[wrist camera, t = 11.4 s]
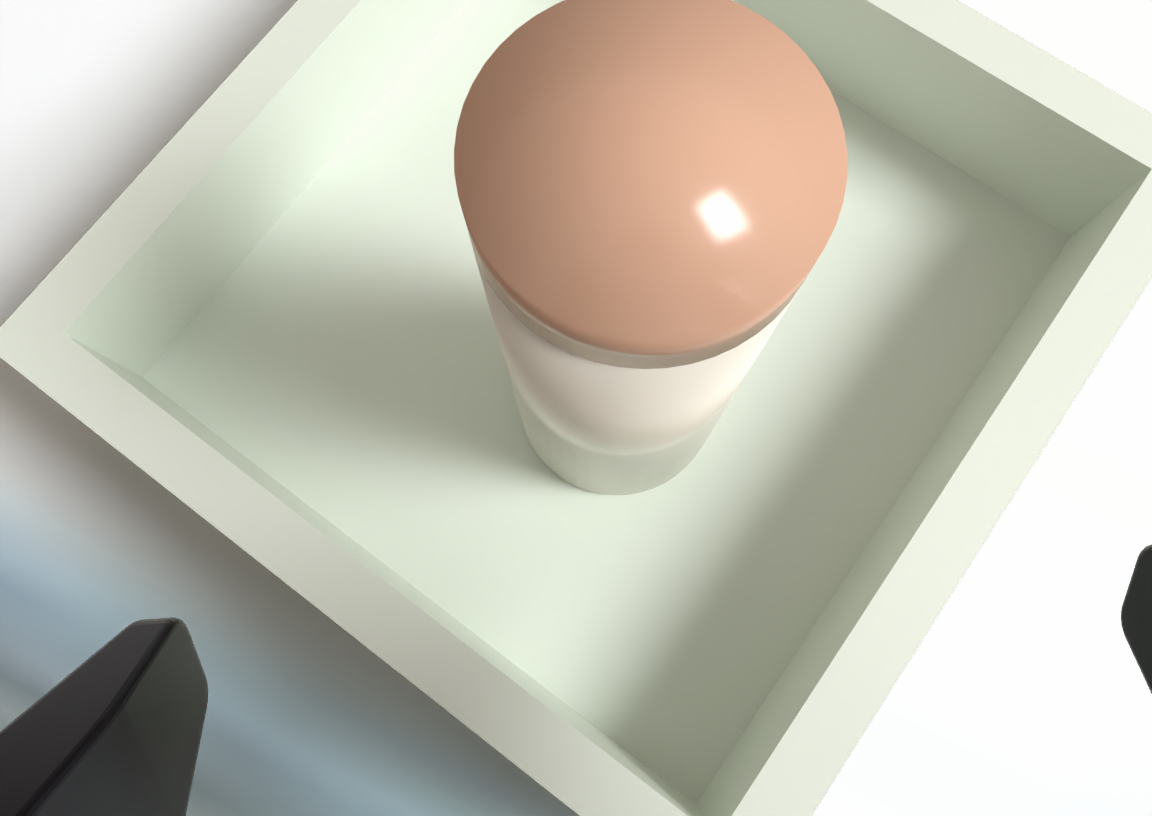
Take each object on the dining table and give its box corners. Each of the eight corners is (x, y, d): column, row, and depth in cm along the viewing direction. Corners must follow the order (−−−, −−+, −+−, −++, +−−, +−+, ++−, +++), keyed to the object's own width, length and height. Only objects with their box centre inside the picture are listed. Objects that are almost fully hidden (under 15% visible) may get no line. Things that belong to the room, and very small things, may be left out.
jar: (560, 525, 19) (536, 398, 9) (491, 346, 20) (400, 55, 10) (744, 452, 19) (915, 255, 9) (668, 280, 20) (751, -64, 10)
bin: (703, 872, 18) (733, 938, 14) (100, 399, 20) (-16, 344, 17) (1109, 246, 21) (1227, 157, 17) (537, -103, 23) (525, -251, 19)
